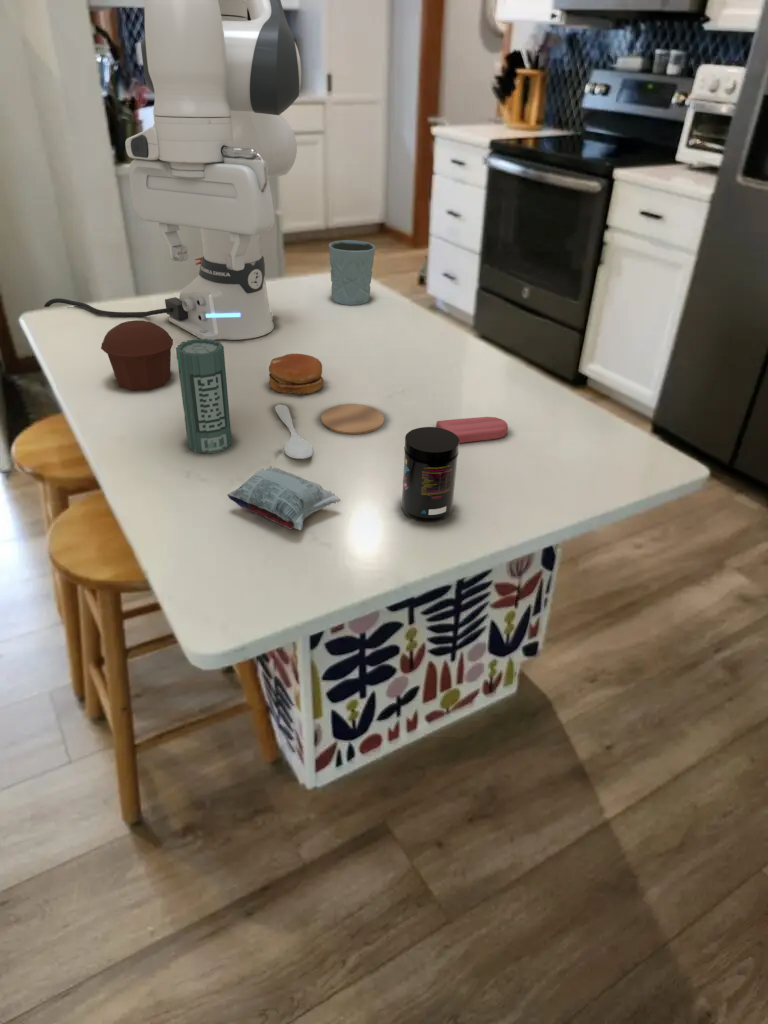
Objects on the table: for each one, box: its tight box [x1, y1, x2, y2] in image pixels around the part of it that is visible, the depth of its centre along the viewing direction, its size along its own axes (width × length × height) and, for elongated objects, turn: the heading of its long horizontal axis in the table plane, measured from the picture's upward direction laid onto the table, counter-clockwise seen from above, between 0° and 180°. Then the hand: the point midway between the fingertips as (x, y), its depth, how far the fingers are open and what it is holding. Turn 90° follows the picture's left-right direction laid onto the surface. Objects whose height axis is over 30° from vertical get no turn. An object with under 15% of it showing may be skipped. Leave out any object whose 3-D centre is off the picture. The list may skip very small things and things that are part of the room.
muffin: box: [100, 319, 174, 391], centre depth 126 cm, size 12×11×10 cm
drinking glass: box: [328, 239, 376, 306], centre depth 167 cm, size 10×10×12 cm
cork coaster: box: [320, 403, 385, 435], centre depth 118 cm, size 10×10×1 cm
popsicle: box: [435, 416, 509, 444], centre depth 115 cm, size 5×2×15 cm
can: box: [175, 338, 233, 455], centre depth 106 cm, size 6×6×15 cm
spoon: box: [274, 404, 314, 460], centre depth 113 cm, size 4×21×2 cm, turn 16°
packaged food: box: [227, 464, 341, 532], centre depth 94 cm, size 9×12×5 cm
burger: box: [268, 353, 324, 395], centre depth 128 cm, size 10×9×5 cm
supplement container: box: [401, 426, 460, 523], centre depth 94 cm, size 7×7×10 cm
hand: (207, 264), depth 95 cm, fingers open, 8 cm apart
